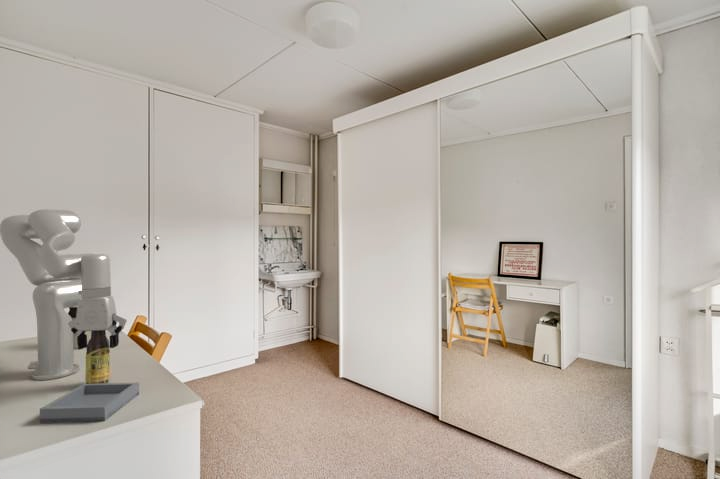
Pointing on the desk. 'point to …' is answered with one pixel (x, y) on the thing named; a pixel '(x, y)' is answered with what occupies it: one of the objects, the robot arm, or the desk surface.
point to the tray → (89, 402)
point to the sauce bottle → (97, 358)
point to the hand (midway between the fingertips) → (98, 347)
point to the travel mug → (73, 314)
